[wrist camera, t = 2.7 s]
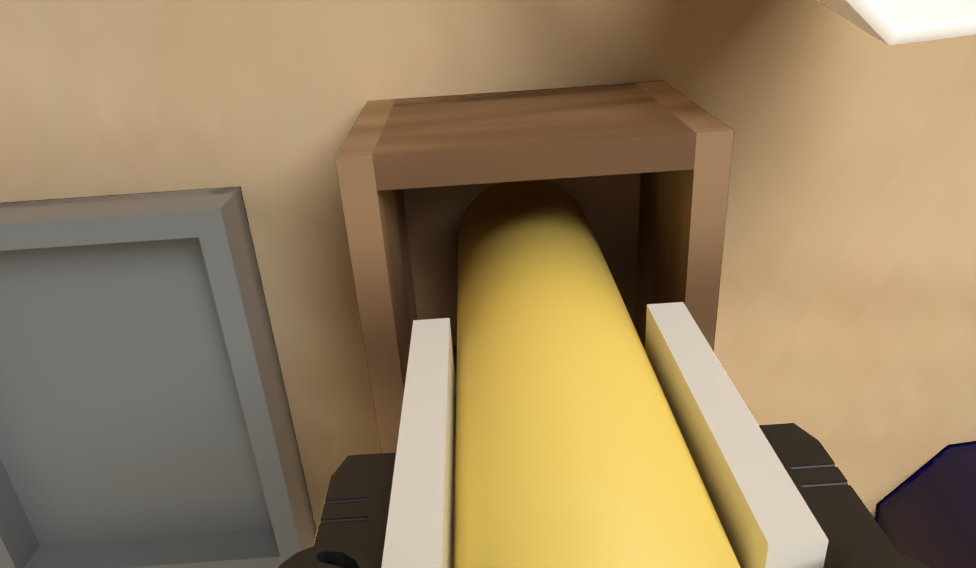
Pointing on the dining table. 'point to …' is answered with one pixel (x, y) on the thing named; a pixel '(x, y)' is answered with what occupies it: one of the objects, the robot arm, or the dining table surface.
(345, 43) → the dining table surface
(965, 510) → the bottle
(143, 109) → the dining table surface
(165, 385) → the tray
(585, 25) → the dining table surface
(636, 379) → the dowel
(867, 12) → the cup
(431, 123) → the holder
